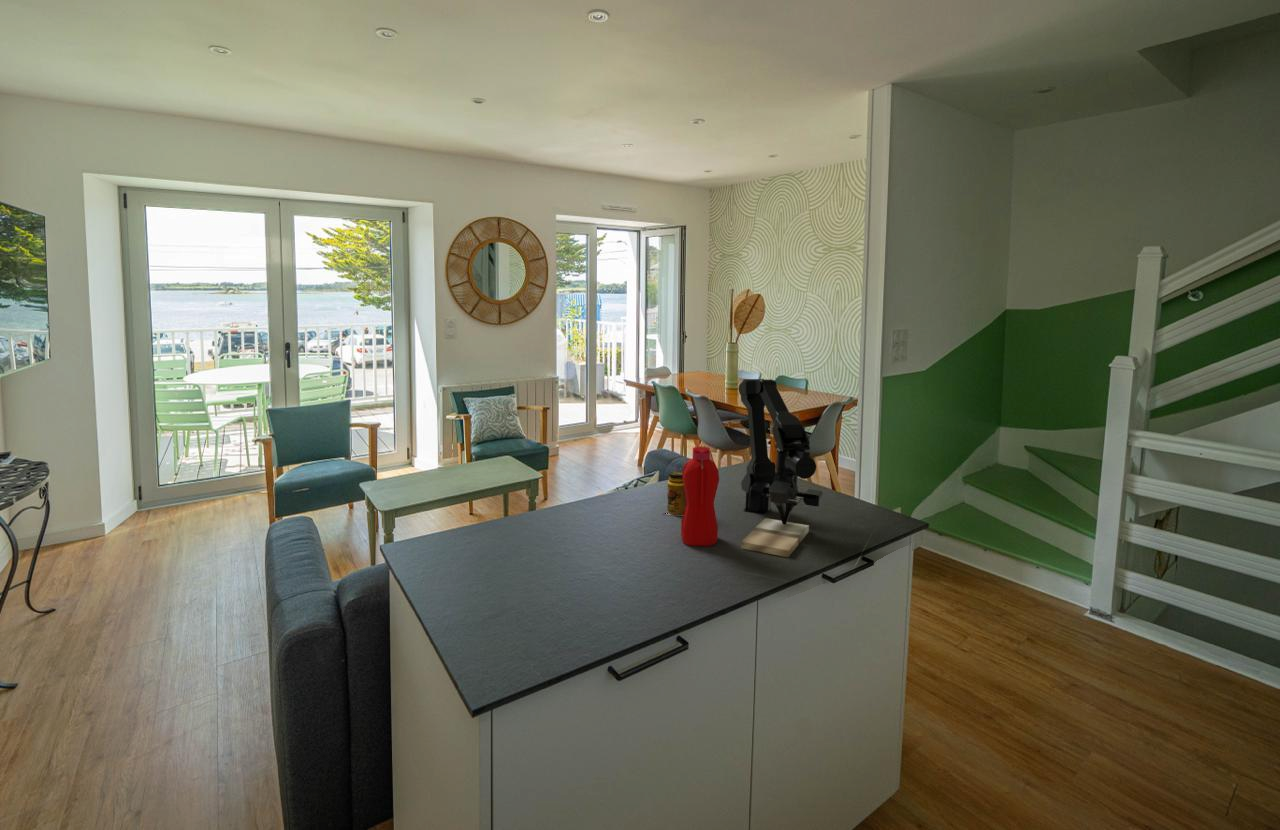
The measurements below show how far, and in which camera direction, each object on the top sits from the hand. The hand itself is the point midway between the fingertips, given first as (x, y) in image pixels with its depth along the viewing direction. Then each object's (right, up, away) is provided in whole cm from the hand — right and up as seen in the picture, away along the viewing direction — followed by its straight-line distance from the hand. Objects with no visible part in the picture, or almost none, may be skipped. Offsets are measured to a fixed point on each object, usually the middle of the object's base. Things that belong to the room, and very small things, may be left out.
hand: (784, 523), depth 176 cm
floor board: (-6, -4, -11) cm, 13 cm away
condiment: (-28, +1, +16) cm, 32 cm away
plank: (-1, -2, -2) cm, 3 cm away
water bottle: (-24, -4, -8) cm, 25 cm away
